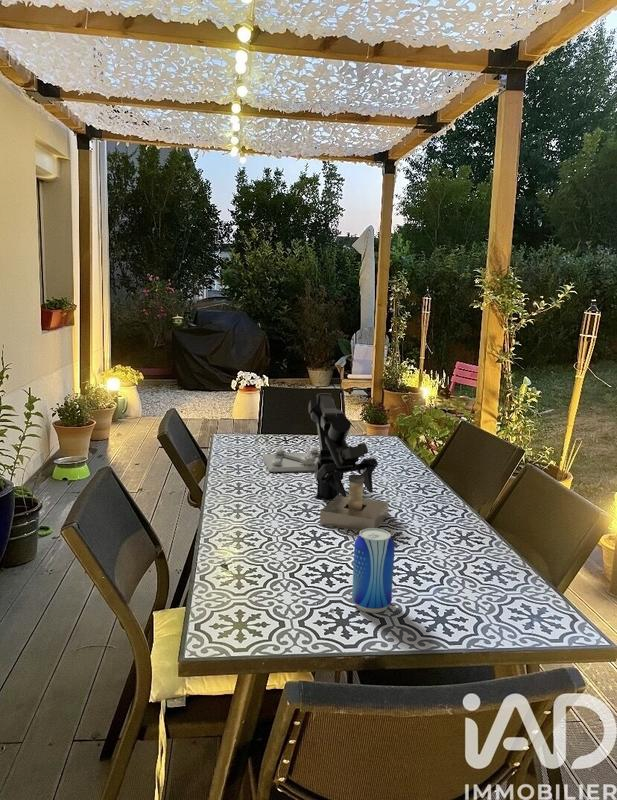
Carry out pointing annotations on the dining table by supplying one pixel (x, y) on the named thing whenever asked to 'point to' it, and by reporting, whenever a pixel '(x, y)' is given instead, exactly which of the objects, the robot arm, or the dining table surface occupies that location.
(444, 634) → the dining table surface
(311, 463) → the grey linkage board
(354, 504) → the ash pin
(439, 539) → the dining table surface
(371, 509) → the grey square block
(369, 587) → the beer can
